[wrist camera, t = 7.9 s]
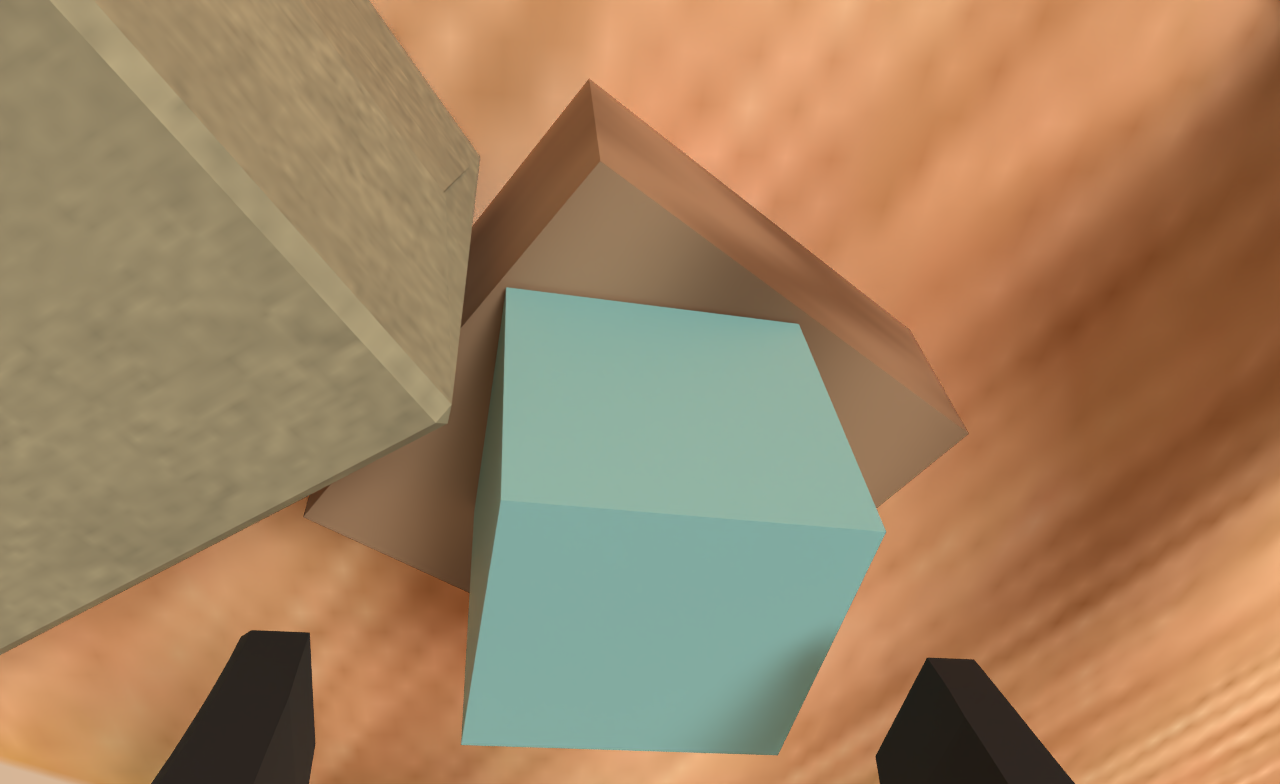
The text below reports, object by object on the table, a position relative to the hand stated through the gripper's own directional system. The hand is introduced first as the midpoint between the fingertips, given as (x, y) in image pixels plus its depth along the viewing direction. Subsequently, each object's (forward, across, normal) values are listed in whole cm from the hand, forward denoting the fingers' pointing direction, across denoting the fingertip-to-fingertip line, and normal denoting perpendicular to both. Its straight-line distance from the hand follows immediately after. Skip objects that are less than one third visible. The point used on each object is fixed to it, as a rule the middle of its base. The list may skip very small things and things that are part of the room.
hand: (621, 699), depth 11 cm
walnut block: (+11, -1, +2) cm, 11 cm away
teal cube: (+7, -1, +1) cm, 7 cm away
